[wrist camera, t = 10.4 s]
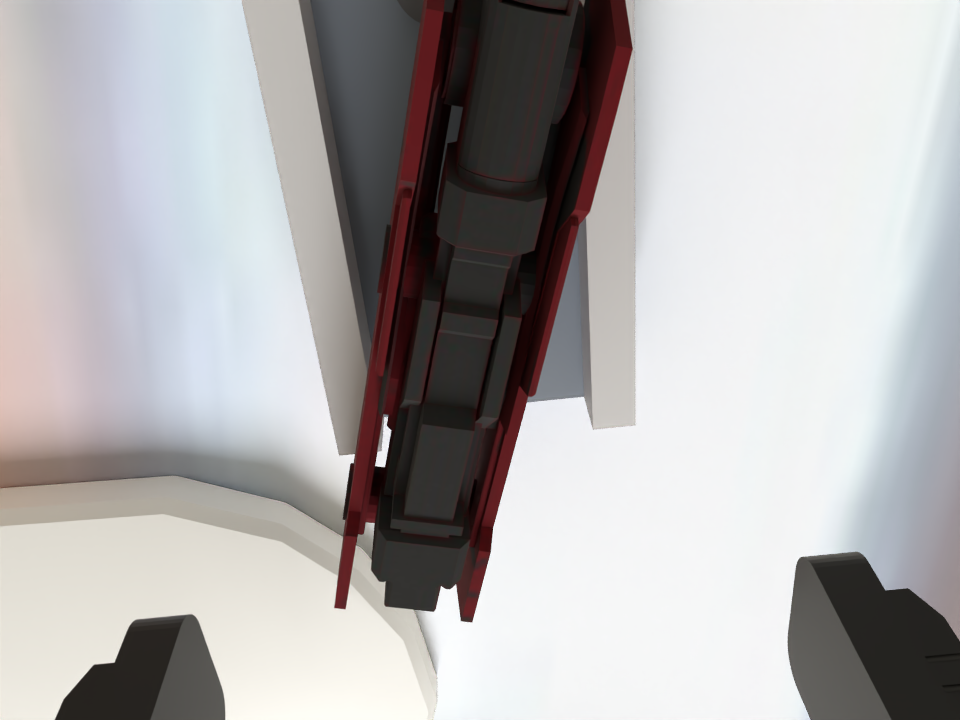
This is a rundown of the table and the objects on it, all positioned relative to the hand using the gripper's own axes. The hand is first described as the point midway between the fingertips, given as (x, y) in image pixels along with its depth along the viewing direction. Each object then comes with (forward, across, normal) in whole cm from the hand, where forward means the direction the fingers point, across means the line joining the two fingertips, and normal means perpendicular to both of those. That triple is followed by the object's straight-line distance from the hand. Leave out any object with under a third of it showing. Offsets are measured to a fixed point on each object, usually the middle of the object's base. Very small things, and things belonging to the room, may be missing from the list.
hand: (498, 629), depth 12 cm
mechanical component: (+16, 0, 0) cm, 16 cm away
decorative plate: (+21, +16, +24) cm, 36 cm away
